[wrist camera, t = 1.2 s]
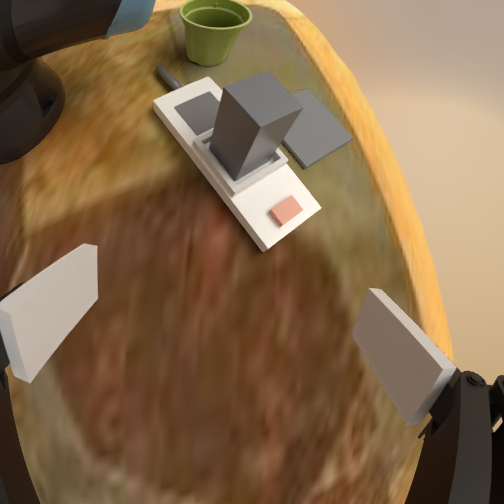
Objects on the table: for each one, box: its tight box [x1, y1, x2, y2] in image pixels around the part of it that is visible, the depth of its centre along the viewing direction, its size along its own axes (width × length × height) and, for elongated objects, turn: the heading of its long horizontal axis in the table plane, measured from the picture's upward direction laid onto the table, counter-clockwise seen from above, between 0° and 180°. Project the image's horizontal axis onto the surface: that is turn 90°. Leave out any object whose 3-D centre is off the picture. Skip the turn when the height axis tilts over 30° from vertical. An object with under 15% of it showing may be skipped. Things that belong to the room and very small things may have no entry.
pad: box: [282, 88, 353, 169], centre depth 36 cm, size 10×10×1 cm
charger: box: [209, 71, 304, 182], centre depth 26 cm, size 5×5×10 cm
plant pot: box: [180, 0, 252, 66], centre depth 31 cm, size 9×9×9 cm
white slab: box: [153, 65, 321, 252], centre depth 31 cm, size 28×8×3 cm, turn 38°
